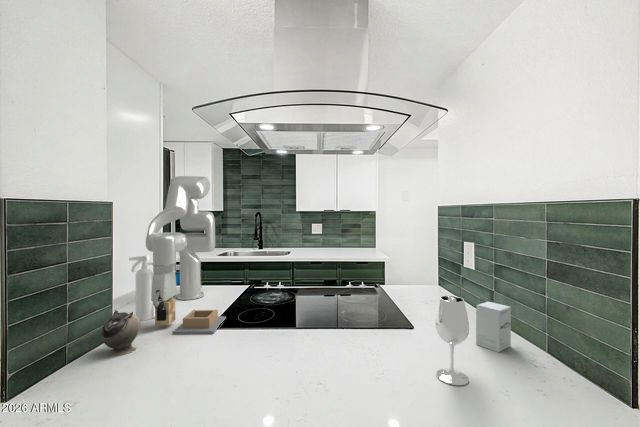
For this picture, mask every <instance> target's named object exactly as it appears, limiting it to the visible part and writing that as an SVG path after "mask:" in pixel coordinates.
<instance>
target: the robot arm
mask: <svg viewBox="0 0 640 427" xmlns="http://www.w3.org/2000/svg"><path fill="white" fill-rule="evenodd" d="M210 188H211V184H210V180H209V178H208V177H207V176H195V175H194V176H193V175H192V176H191V175H189V176H188V175H187V176H186V175H179V176H173V177H172V178H170V181H169V186H168V192H167V197H166V201H165V208H164V209H163V210H162V211H161V212H159V213H158V214H157V215H156V216H154V218H152V220H151V221H150V222H149V225H148V228H147V232H146V236H145V248H146V249H147V251H149V252H151V253H152V263H153V265H152V269H153V279H152V289H151V301H152V302H153V305H154V306H155V307H156V310H157V321H165V320H166V309H165V304H166V301H167V300H168V299H177V300H180V301H189V300H190V301H192V300H197V299H200V298H203V297H204V296H205V293H204V292H203V291H202V290H201V289H202V288H203V286H202V283H201V280H202V279H201V275H202V274H201V270H202V269H201V263H202V262H201V259H200V257H199V256H198V254H197V253H208V252H209V253H210V252H213V251H214V250H215V248H216V219H215V216H214V213H213V212H212V211H207V210H205V211H204V210H203V211H202V210H201V211H200V210H199V201H198V200H202V199H204V198H205V197H206V196H207V195H208V194H209V192H210ZM177 220H179V223H180V227H181V229H182V230H184V231H189V232H187V233H186V232H185V233H183V232H170V231H169V232H159V231H160V230H161V228H162V227H164V226H166V225H168V224H170V223H172V222H175V221H177ZM190 231H202V232H190ZM177 253H179V254H178V255H179V294H177V277H176V276H177V275H176V272H177ZM176 294H177V295H176ZM175 296H176V298H175ZM161 299H162V301H159V300H161ZM160 303H163V304H162V305H161V304H160Z"/></svg>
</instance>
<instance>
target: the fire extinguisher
mask: <svg viewBox="0 0 640 427" xmlns="http://www.w3.org/2000/svg"><path fill="white" fill-rule="evenodd" d="M150 260H151V259H150V255H149V254H148V255H140V256H139V255H138V256H131V257H129V258H128V261H136V262H134V264H133V265H132V266H131V270H130V271H131V272H132V273H135V315H136V316H137V317H138V319H139V321H140V322H141V321H149V320H152V319H155V306H154V305H153V302H152V301H151V289H152V279H153V268H150V266H153V261H151V262H150ZM140 264H141V267H140V268H141V269H138V266H140ZM137 269H138V270H137Z"/></svg>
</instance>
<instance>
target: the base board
mask: <svg viewBox="0 0 640 427" xmlns="http://www.w3.org/2000/svg"><path fill="white" fill-rule="evenodd" d="M225 319H226V320H227V316H225V315H224V316H223V315H221V316H219V309H193V310H191V311H190V312H189V313H188V314H187V315H184V317H183V318H182V323H181V324H180V325H179V326H177V327H176V328H175V329H174V330H172V335H214V334H215V333H216V332H217V330H218V329H219V328H220V327H219V325H220V324H221V323H222V322H223V321H224V320H225ZM226 320H225V321H226ZM225 321H224V322H225ZM224 322H223V323H224ZM223 323H222V324H223ZM222 324H221V325H222ZM218 327H219V328H218ZM217 328H218V329H217Z"/></svg>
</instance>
